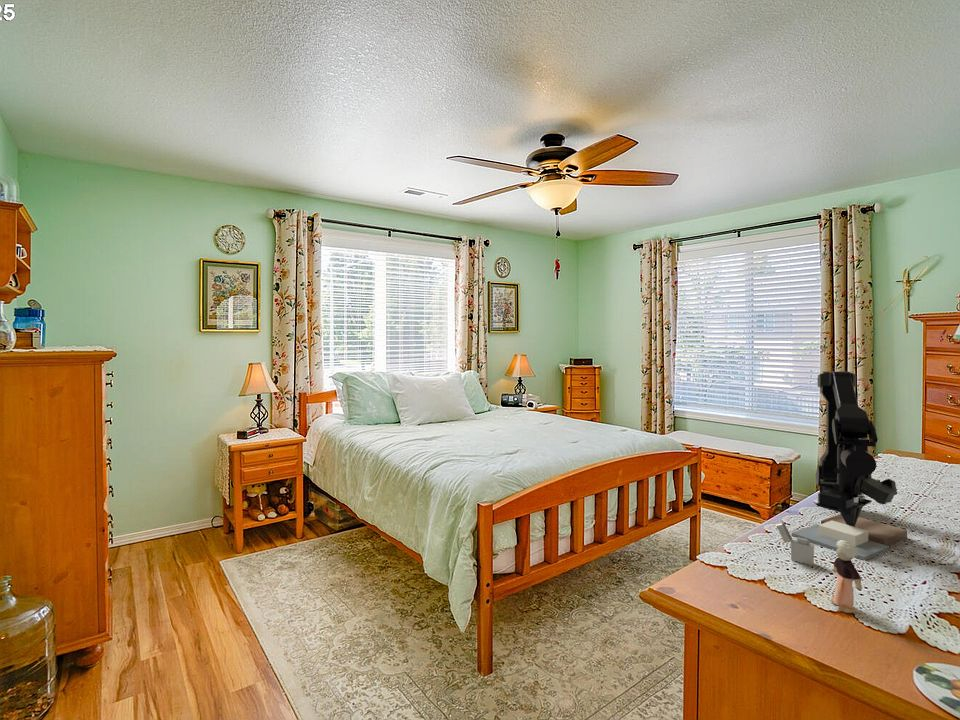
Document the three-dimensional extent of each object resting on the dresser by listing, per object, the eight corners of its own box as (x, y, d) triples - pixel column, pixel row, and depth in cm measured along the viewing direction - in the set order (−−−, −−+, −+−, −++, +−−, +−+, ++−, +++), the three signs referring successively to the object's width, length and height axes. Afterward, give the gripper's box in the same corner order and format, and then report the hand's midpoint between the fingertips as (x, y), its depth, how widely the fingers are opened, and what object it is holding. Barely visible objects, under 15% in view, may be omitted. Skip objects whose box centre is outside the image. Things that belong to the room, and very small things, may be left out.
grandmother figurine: (819, 598, 95) (820, 533, 95) (838, 596, 96) (838, 532, 95) (852, 620, 88) (853, 551, 87) (872, 619, 88) (873, 549, 88)
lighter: (813, 563, 110) (814, 527, 109) (812, 565, 108) (812, 530, 108) (777, 554, 115) (777, 520, 114) (775, 556, 113) (775, 522, 113)
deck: (821, 528, 129) (821, 520, 129) (843, 520, 134) (843, 512, 134) (884, 547, 116) (884, 539, 116) (907, 538, 122) (907, 530, 121)
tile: (818, 534, 123) (818, 525, 123) (831, 529, 126) (831, 520, 125) (855, 546, 116) (855, 536, 116) (868, 541, 119) (868, 530, 118)
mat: (791, 535, 124) (791, 532, 124) (816, 527, 130) (816, 524, 130) (864, 560, 110) (864, 557, 110) (889, 549, 115) (889, 546, 115)
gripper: (870, 479, 110) (869, 547, 111) (909, 467, 119) (909, 530, 120) (816, 468, 120) (816, 531, 121) (857, 457, 129) (856, 516, 129)
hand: (851, 527), depth 122 cm, fingers closed
